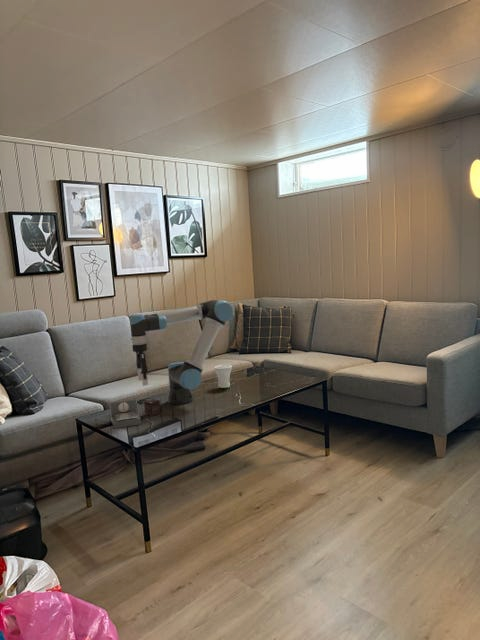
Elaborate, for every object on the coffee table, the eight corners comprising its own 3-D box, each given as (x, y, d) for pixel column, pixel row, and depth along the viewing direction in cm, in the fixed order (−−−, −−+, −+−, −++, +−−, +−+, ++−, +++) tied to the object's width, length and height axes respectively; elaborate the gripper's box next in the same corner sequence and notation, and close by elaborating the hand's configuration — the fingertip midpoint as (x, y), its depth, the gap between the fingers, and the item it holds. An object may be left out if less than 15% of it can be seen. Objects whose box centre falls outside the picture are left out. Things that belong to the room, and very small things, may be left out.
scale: (136, 417, 252) (134, 398, 252) (141, 424, 240) (139, 404, 239) (111, 421, 248) (109, 402, 247) (114, 428, 235) (113, 408, 234)
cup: (213, 389, 302) (211, 368, 301) (219, 385, 313) (217, 364, 311) (229, 390, 299) (228, 368, 297) (235, 386, 309) (234, 364, 308)
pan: (134, 412, 248) (134, 411, 248) (137, 417, 240) (137, 415, 239) (114, 416, 244) (114, 414, 244) (116, 420, 236) (116, 419, 236)
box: (153, 411, 261) (152, 398, 260) (160, 413, 257) (159, 400, 256) (144, 414, 256) (143, 401, 256) (151, 416, 252) (150, 402, 252)
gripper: (128, 341, 262) (132, 379, 264) (135, 347, 239) (140, 388, 241) (142, 340, 265) (146, 377, 267) (150, 345, 242) (154, 386, 244)
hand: (143, 382), depth 254 cm, fingers open, 13 cm apart
